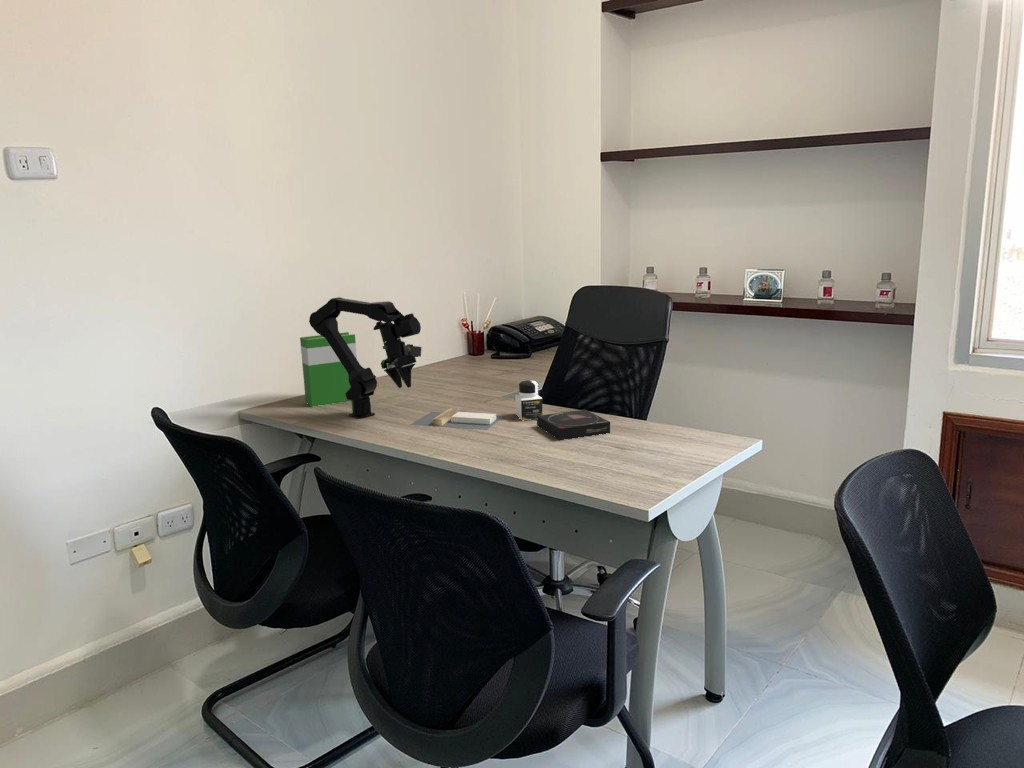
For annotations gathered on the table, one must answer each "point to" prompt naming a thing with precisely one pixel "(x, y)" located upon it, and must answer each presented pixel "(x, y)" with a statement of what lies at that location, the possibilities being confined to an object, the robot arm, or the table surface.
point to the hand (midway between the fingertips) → (404, 387)
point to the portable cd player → (573, 424)
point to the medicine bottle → (528, 401)
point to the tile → (473, 418)
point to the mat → (428, 421)
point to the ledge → (445, 416)
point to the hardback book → (324, 370)
